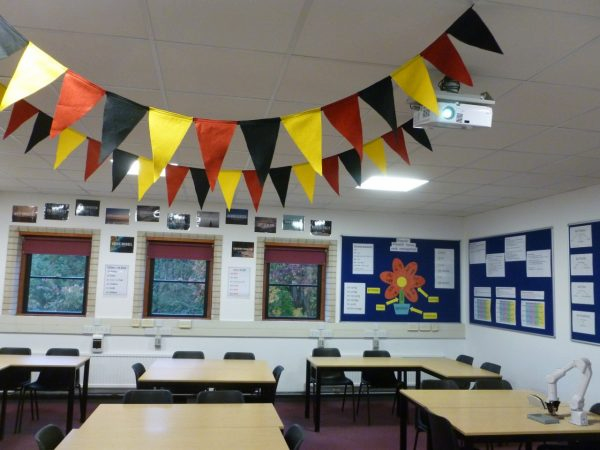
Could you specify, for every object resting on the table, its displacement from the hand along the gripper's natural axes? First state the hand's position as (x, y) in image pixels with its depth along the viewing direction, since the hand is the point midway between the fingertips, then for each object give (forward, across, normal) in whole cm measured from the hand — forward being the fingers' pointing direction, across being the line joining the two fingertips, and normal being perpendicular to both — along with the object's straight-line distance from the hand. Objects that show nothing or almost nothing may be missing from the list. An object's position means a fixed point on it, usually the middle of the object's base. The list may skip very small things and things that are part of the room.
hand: (553, 412), depth 338 cm
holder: (+4, 0, 0) cm, 4 cm away
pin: (+4, 0, 0) cm, 4 cm away
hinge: (+4, -23, -23) cm, 33 cm away
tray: (+4, +13, 0) cm, 14 cm away
